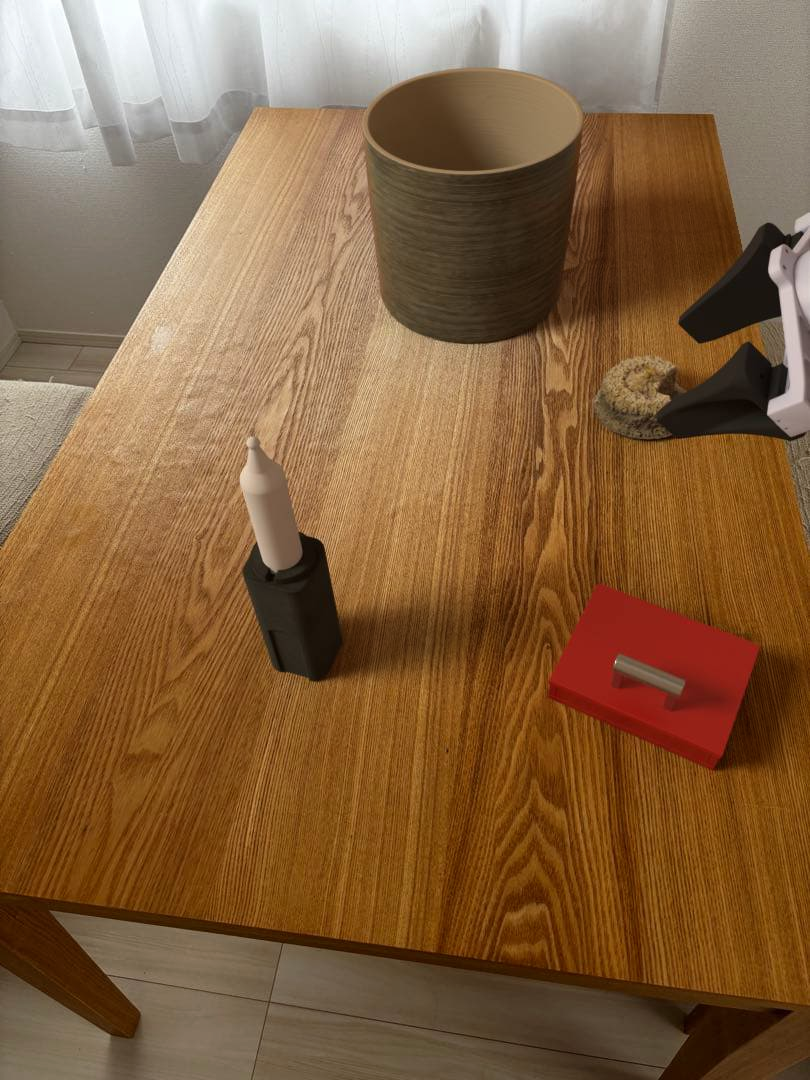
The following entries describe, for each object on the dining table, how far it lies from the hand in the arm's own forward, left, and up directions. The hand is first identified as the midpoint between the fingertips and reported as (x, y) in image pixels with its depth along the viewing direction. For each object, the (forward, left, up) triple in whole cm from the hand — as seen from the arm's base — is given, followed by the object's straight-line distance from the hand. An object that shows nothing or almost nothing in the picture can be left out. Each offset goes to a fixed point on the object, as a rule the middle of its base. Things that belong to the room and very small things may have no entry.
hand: (679, 376), depth 51 cm
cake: (+7, -26, -28) cm, 39 cm away
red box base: (-4, +4, -27) cm, 28 cm away
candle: (+22, +14, -28) cm, 38 cm away
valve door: (-4, +4, -24) cm, 25 cm away
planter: (+32, -37, -28) cm, 56 cm away
